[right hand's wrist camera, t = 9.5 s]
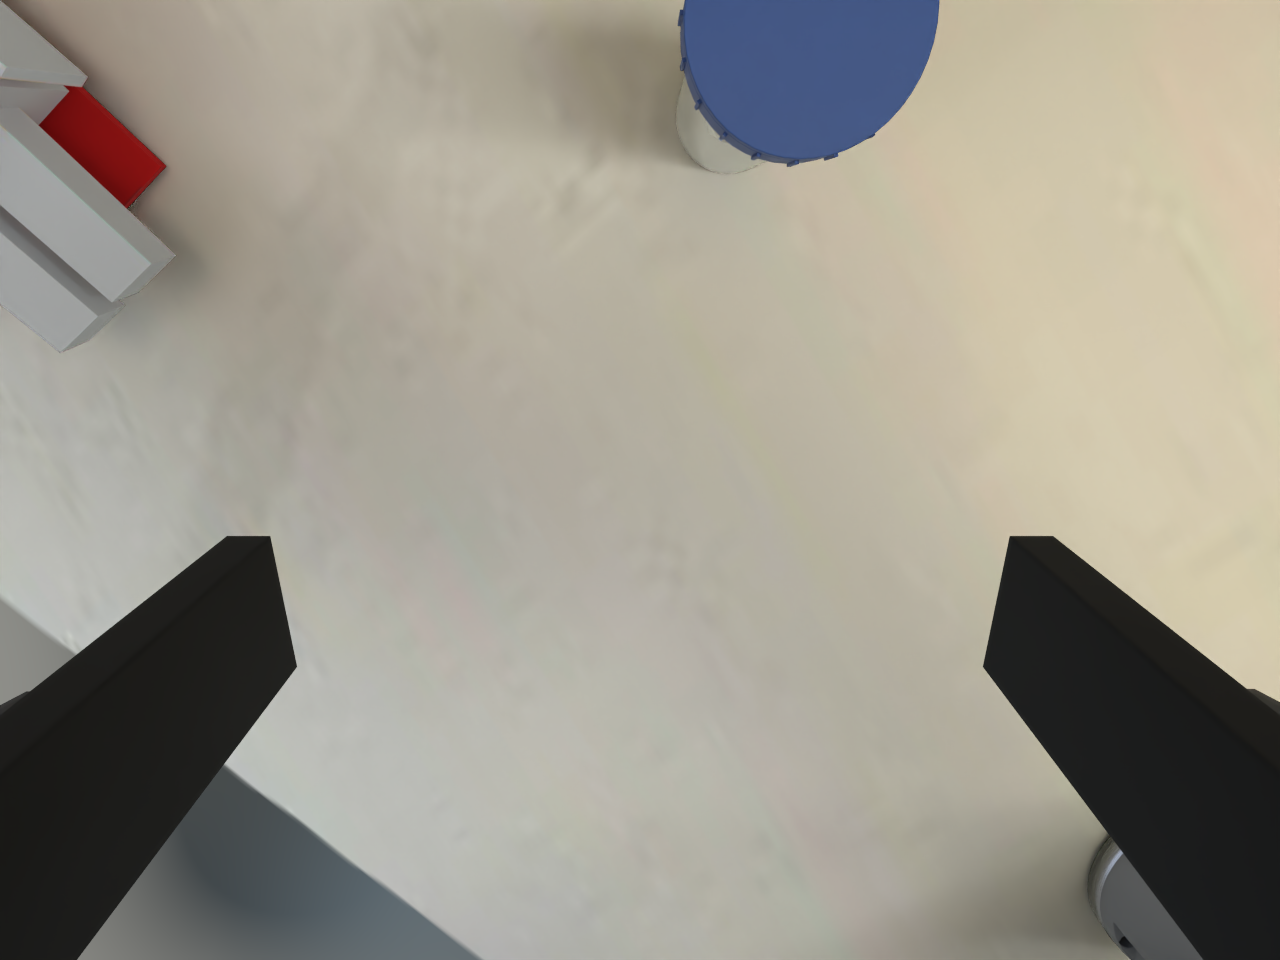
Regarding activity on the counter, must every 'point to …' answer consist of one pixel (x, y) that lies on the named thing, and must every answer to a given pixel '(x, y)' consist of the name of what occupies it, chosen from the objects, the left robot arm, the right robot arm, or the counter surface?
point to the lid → (803, 70)
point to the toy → (66, 196)
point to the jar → (707, 140)
